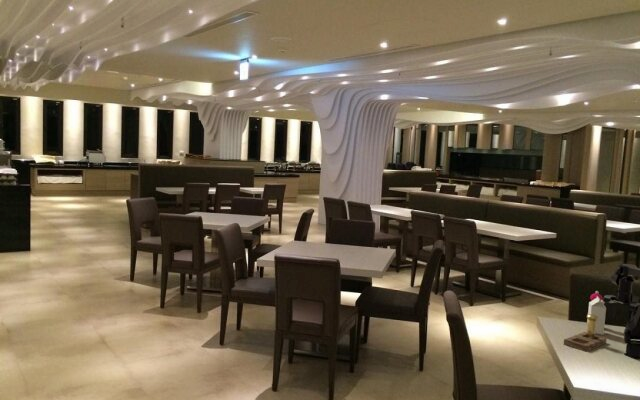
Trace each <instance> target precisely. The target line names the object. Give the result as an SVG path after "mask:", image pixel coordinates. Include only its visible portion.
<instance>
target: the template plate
mask: <svg viewBox="0 0 640 400" xmlns="http://www.w3.org/2000/svg"><path fill="white" fill-rule="evenodd" d="M606 343H607V338H606V337H604V336H600V335H598V334H595V340H592V339H589V338H586V332H585V331H584V332H581V333H578V334H575V335H573V336H570V337H567V338H564V339H563V345H565V346H567V347H571V348H574V349H577V350H579V351H580V350H581V351H583V352H588V351H591V350H593V349H595V348H598V347H600V346H603V345H605V344H606Z"/></svg>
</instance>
